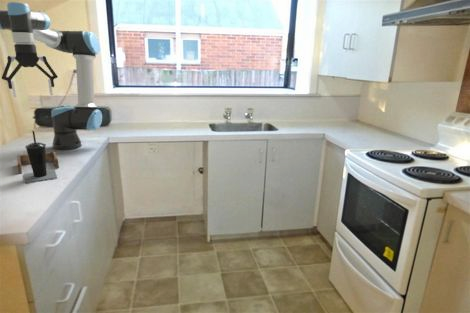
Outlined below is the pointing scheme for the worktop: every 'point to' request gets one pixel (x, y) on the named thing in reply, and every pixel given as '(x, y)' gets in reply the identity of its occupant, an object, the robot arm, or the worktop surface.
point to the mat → (30, 177)
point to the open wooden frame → (25, 160)
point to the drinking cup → (37, 157)
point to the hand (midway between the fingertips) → (33, 95)
